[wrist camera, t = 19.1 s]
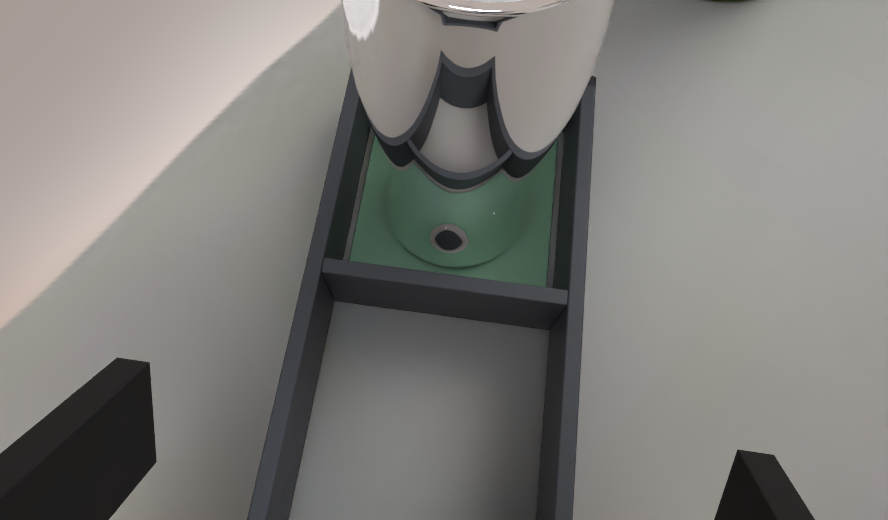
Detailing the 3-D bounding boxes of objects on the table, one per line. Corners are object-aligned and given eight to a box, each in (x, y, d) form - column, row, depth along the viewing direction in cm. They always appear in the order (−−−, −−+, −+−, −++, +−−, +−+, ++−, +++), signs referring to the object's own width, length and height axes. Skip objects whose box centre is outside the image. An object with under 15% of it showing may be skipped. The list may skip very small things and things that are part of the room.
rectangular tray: (577, 123, 29) (596, 75, 26) (547, 592, 22) (568, 609, 19) (363, 96, 29) (356, 45, 26) (264, 551, 22) (237, 560, 19)
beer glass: (346, 183, 27) (263, -146, 13) (475, 112, 29) (521, -251, 15) (433, 309, 25) (441, 78, 11) (566, 225, 27) (718, -70, 13)
